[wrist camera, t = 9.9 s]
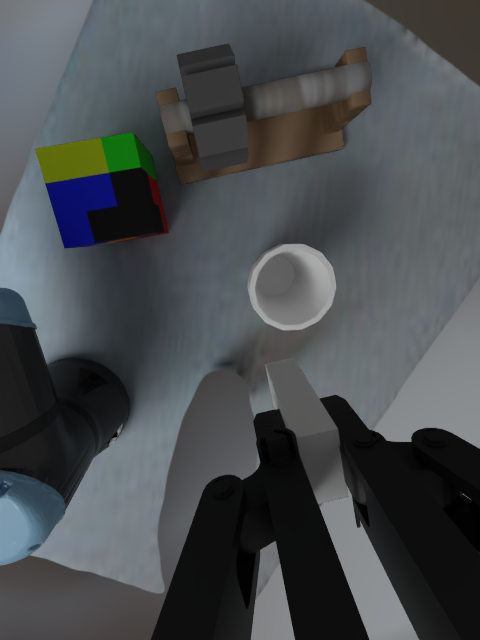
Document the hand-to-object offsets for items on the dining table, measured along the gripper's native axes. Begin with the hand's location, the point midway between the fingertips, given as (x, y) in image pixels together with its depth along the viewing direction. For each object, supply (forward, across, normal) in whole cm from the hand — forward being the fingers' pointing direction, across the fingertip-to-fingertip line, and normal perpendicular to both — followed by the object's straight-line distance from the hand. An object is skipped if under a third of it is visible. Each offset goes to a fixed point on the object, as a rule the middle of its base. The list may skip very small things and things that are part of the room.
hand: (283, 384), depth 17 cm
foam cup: (+33, +5, +1) cm, 33 cm away
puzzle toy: (+33, -13, +15) cm, 38 cm away
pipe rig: (+32, +6, +20) cm, 39 cm away
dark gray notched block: (+23, +1, +20) cm, 31 cm away
